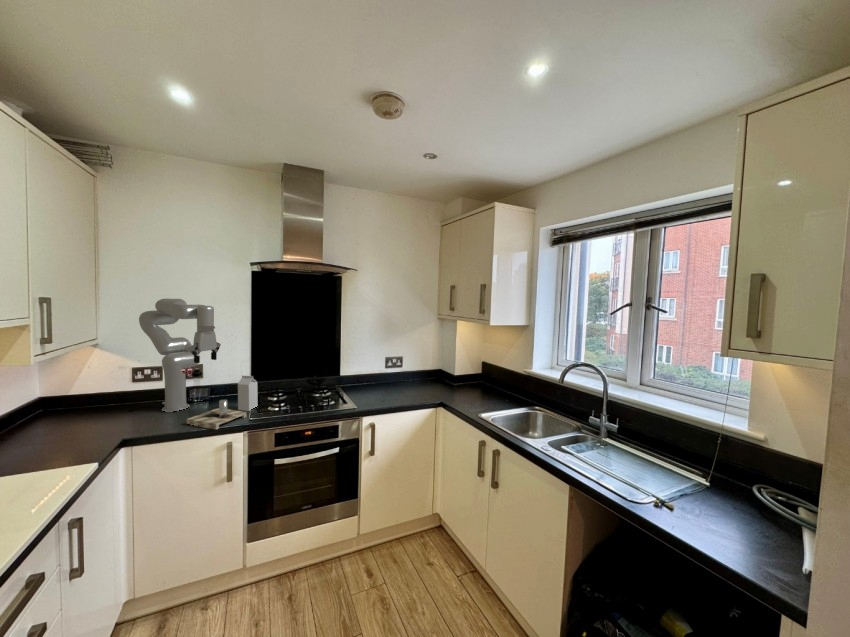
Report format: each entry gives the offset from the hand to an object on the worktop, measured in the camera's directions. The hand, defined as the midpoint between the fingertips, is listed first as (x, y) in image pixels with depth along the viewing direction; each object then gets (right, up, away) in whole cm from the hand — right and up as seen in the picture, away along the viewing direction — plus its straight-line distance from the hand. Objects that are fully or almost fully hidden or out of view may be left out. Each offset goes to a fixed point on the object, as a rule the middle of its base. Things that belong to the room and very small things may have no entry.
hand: (205, 361), depth 179 cm
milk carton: (+15, -29, +14) cm, 36 cm away
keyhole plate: (+10, -30, -6) cm, 32 cm away
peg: (+14, -30, -7) cm, 34 cm away
